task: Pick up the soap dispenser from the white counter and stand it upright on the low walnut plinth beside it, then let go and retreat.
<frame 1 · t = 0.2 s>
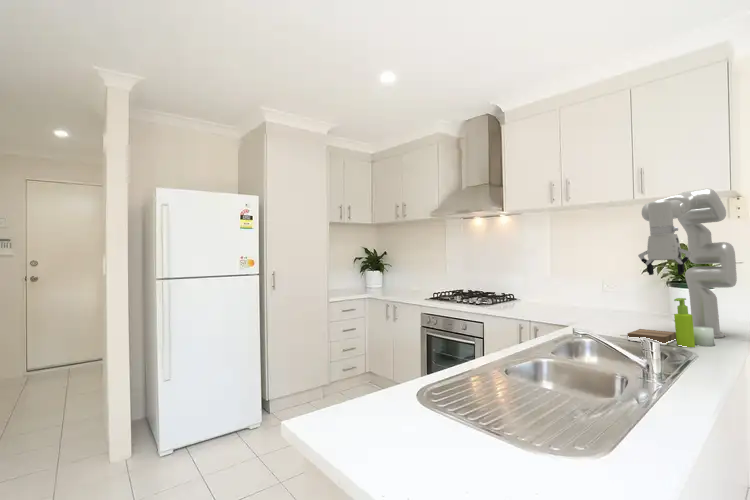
hand: (665, 274, 149), 31 cm above the worktop, tool pointing down, fingers open, 9 cm apart
soap dispenser: (685, 346, 156), on the worktop
pale green rounded block: (703, 344, 158), on the worktop
walnut plinth: (652, 340, 169), on the worktop
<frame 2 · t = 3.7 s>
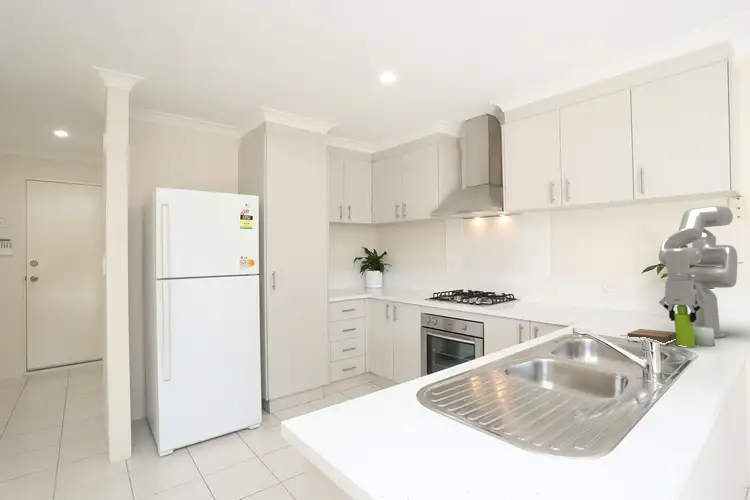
hand: (682, 320, 157), 11 cm above the worktop, tool pointing down, fingers closed on soap dispenser, 5 cm apart
soap dispenser: (685, 346, 156), on the worktop, touching gripper
everything else where it was.
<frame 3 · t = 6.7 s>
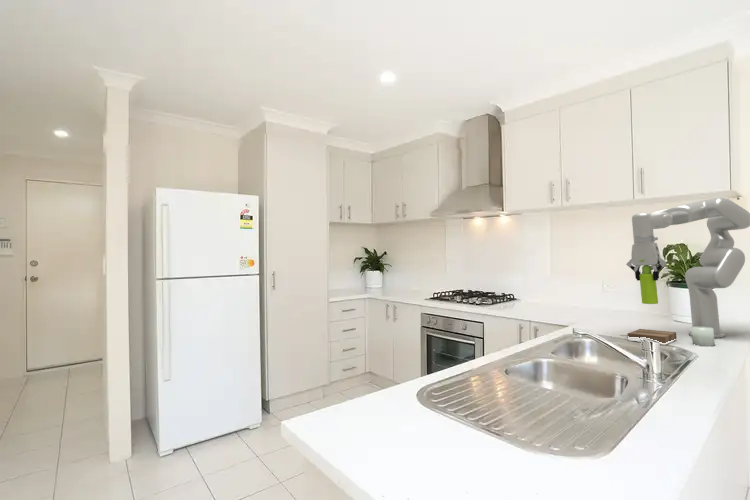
hand: (647, 279, 170), 27 cm above the worktop, tool pointing down, fingers closed on soap dispenser, 5 cm apart
soap dispenser: (649, 303, 170), point 17 cm above the worktop, touching gripper
everything else where it was.
when the fingers open (15 cm above the worktop, at t = 9.8 s): soap dispenser stays where it is, resting on walnut plinth.
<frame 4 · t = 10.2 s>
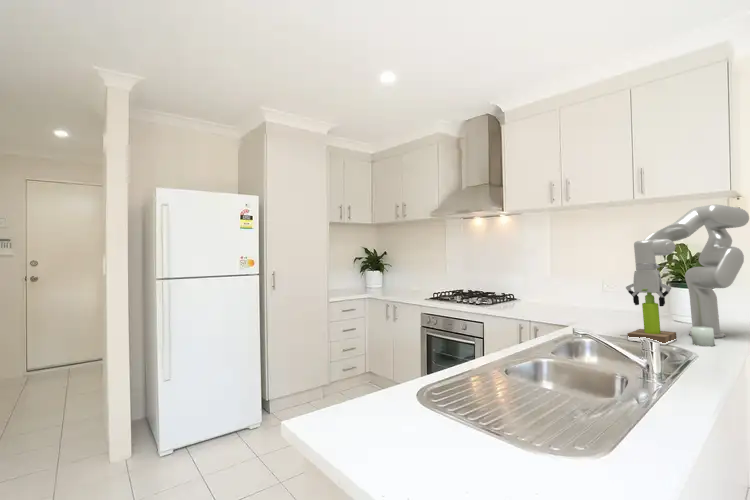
hand: (649, 305, 170), 16 cm above the worktop, tool pointing down, fingers open, 9 cm apart
soap dispenser: (651, 333, 169), point 3 cm above the worktop, touching walnut plinth
everything else where it was.
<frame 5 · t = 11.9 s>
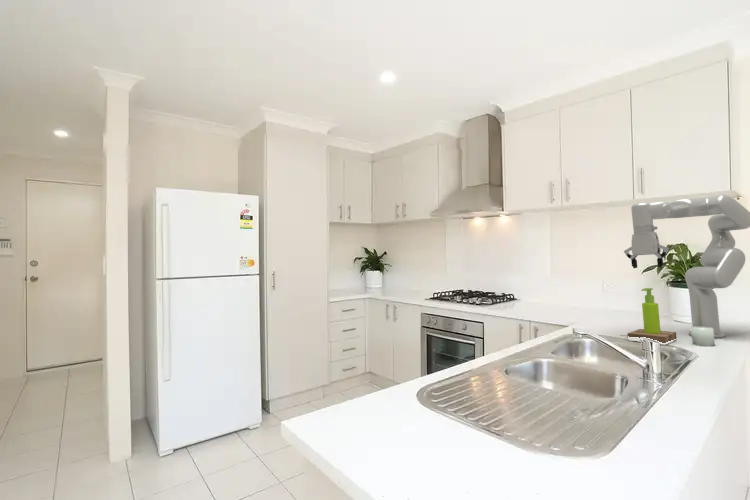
hand: (647, 267, 171), 33 cm above the worktop, tool pointing down, fingers open, 9 cm apart
nothing on the worktop moved.
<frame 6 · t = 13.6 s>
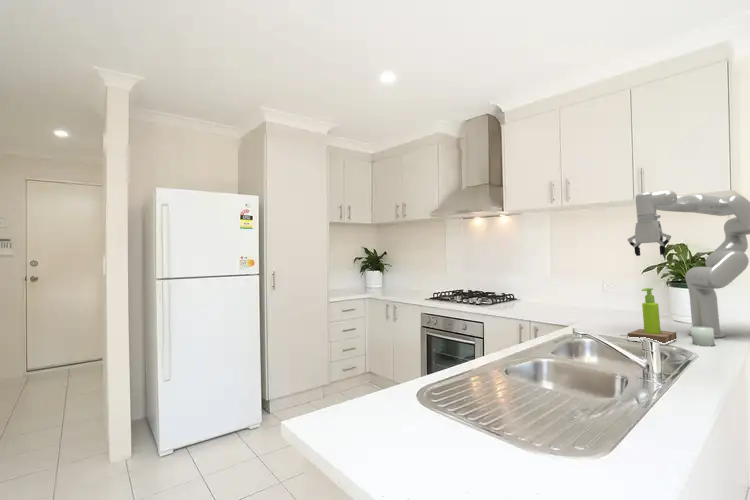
hand: (650, 255, 177), 38 cm above the worktop, tool pointing down, fingers open, 9 cm apart
nothing on the worktop moved.
at the end: soap dispenser inside the target area on the walnut plinth (0.2 cm from its centre), point 3.3 cm above the walnut plinth's base; soap dispenser tilted 0°; the gripper is holding nothing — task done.
